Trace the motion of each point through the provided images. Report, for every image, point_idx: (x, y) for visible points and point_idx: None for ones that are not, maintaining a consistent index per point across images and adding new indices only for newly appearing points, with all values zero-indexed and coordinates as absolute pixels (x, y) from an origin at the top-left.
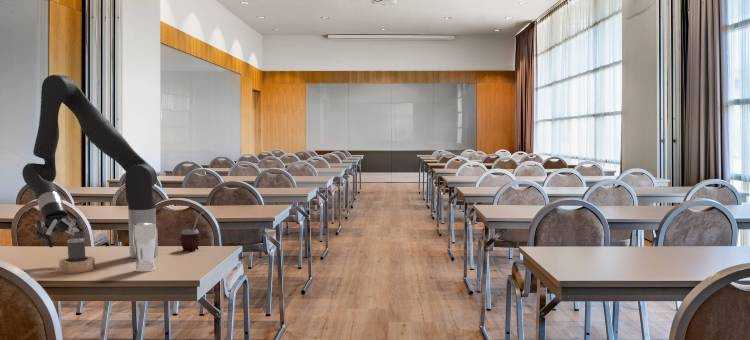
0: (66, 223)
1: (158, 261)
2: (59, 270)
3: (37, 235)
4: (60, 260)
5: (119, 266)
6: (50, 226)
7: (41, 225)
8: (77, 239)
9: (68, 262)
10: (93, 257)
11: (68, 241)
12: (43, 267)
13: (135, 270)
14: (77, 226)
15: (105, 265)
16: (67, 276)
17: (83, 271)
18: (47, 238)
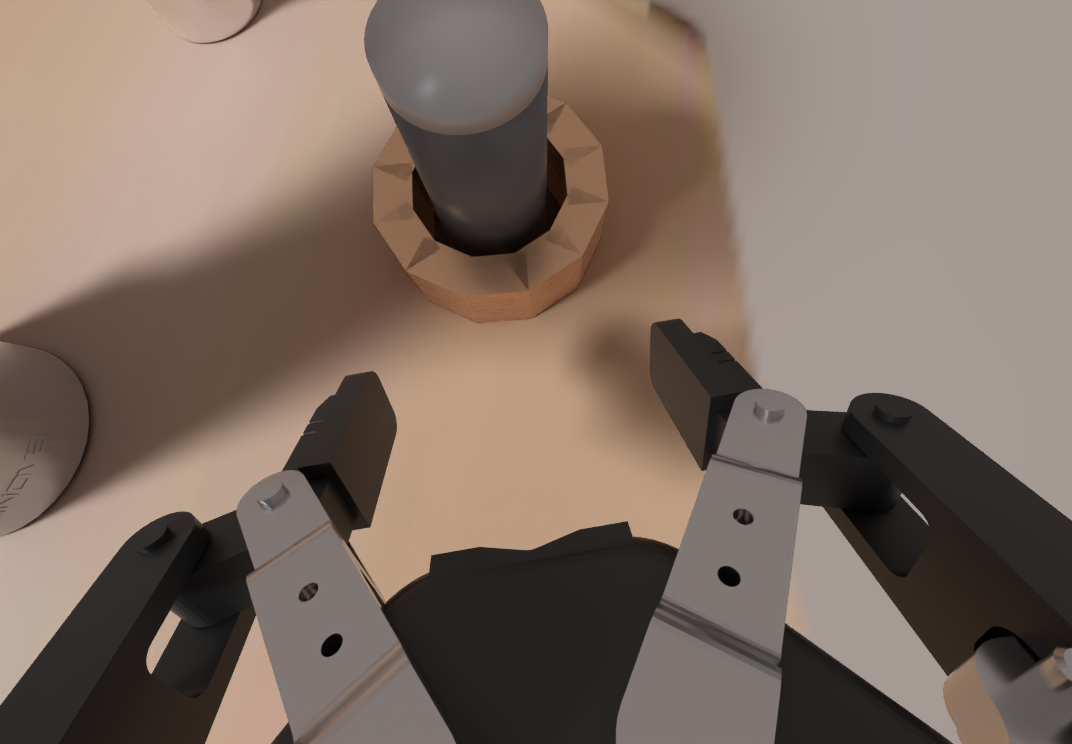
0: (371, 638)
1: (37, 192)
2: (599, 237)
3: (910, 519)
4: (598, 204)
5: (270, 182)
6: (778, 514)
7: (1034, 668)
8: (447, 8)
9: (562, 103)
10: (375, 180)
11: (543, 21)
12: (670, 472)
13: (258, 2)
14: (165, 702)
15: (321, 268)
16: (582, 79)
17: None
18: (741, 378)
